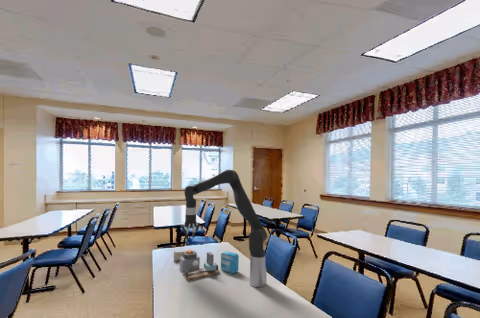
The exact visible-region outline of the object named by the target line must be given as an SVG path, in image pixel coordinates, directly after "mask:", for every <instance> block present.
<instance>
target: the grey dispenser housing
mask: <svg viewBox="0 0 480 318" xmlns="http://www.w3.org/2000/svg"><path fill="white" fill-rule="evenodd" d="M184 251H185V252H184V253H183V257H180V260H179V270H180V271H181V273H184V269H186V270H187V271H188V272H189V271H193V270H198V269H200V264H201V263H200V262H201V260H200V259H201V257H200V256H199V255H198V253H197V252H196V251H195V250H193V252H192V254H187V251H186V250H184Z"/></svg>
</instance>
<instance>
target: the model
mask: <svg viewBox="0 0 480 318" xmlns="http://www.w3.org/2000/svg"><path fill="white" fill-rule="evenodd" d="M187 250H188V249H187ZM187 250H182V251H173V262H177V261H178V260H179V261H180V257H183V253H184V252H185V251H187Z"/></svg>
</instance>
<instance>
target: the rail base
mask: <svg viewBox="0 0 480 318" xmlns="http://www.w3.org/2000/svg"><path fill="white" fill-rule="evenodd" d="M213 263H214V264H216V270H211V271H207V270H206V269H205V268H204V267H203V268H199V269H197V270H192V271H187V270H186V269H184V272H182V276H183V277H184V278H185V280H186V281H187V282H190V281H194V280H199V279H204V278H207V277H211V276H215V275H221V274H220V273H221V271H220V270H219V265H218V264H217V263H216V262H213Z"/></svg>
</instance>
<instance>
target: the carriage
mask: <svg viewBox="0 0 480 318" xmlns="http://www.w3.org/2000/svg"><path fill="white" fill-rule="evenodd" d="M214 260H215V259H214V253H212V252H211V251H207V252H206V262H203V268H205V269H206V270H207V271H211V270H216V264H217V263H216V264H214V263H215V262H214Z"/></svg>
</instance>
